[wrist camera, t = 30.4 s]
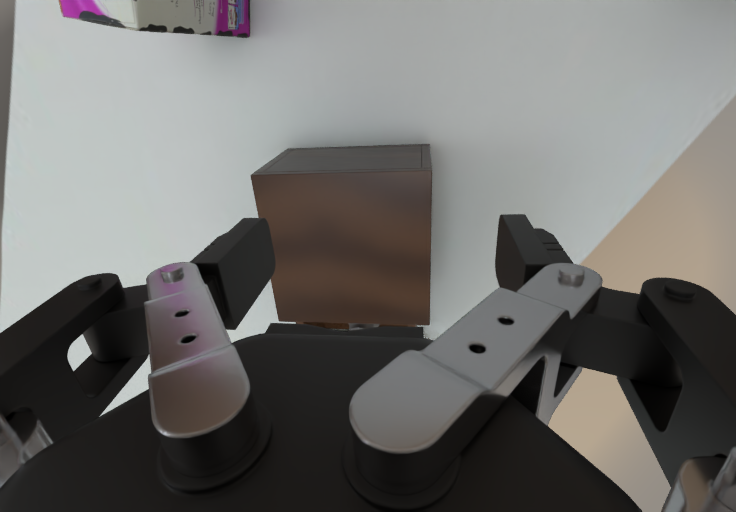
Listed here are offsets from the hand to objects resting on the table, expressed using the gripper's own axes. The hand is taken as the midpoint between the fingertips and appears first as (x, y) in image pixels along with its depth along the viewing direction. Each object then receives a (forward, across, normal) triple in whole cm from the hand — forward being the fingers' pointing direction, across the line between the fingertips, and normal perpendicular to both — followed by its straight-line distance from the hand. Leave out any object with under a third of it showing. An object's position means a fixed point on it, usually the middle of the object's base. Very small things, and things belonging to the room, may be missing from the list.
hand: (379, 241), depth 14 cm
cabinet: (+28, +5, +10) cm, 30 cm away
